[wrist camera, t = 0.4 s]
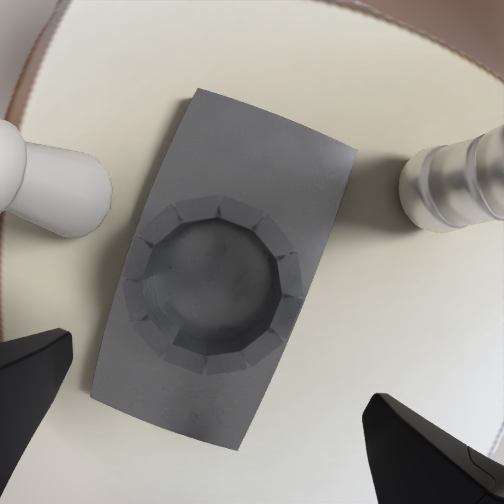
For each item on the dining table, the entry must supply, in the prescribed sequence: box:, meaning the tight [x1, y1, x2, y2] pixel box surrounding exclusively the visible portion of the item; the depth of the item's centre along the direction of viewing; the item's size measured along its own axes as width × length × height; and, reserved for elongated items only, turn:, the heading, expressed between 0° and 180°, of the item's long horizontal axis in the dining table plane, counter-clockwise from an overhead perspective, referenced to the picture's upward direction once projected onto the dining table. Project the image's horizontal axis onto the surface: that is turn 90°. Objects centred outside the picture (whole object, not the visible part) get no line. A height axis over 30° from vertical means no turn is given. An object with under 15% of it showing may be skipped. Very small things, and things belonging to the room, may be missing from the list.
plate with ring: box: [90, 88, 357, 451], centre depth 19 cm, size 24×12×4 cm, turn 159°
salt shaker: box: [0, 119, 113, 238], centre depth 14 cm, size 6×6×13 cm
